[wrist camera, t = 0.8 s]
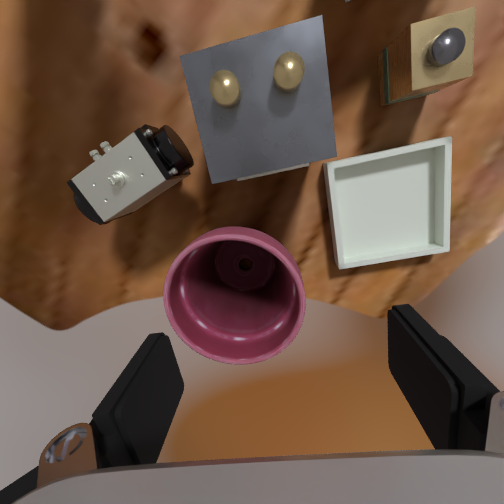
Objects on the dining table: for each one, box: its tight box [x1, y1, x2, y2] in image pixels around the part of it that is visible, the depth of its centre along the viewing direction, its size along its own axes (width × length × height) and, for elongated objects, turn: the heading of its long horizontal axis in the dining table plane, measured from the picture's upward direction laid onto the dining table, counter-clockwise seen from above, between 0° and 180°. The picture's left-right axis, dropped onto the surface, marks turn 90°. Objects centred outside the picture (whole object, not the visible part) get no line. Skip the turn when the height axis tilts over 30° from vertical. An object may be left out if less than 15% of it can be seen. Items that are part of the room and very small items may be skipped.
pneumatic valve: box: [67, 124, 194, 225], centre depth 28 cm, size 6×12×12 cm, turn 121°
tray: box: [323, 136, 452, 270], centre depth 32 cm, size 13×13×2 cm
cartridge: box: [378, 7, 475, 106], centre depth 25 cm, size 5×5×8 cm
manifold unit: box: [180, 15, 337, 184], centre depth 25 cm, size 9×10×15 cm
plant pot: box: [164, 227, 306, 364], centre depth 31 cm, size 14×14×13 cm
